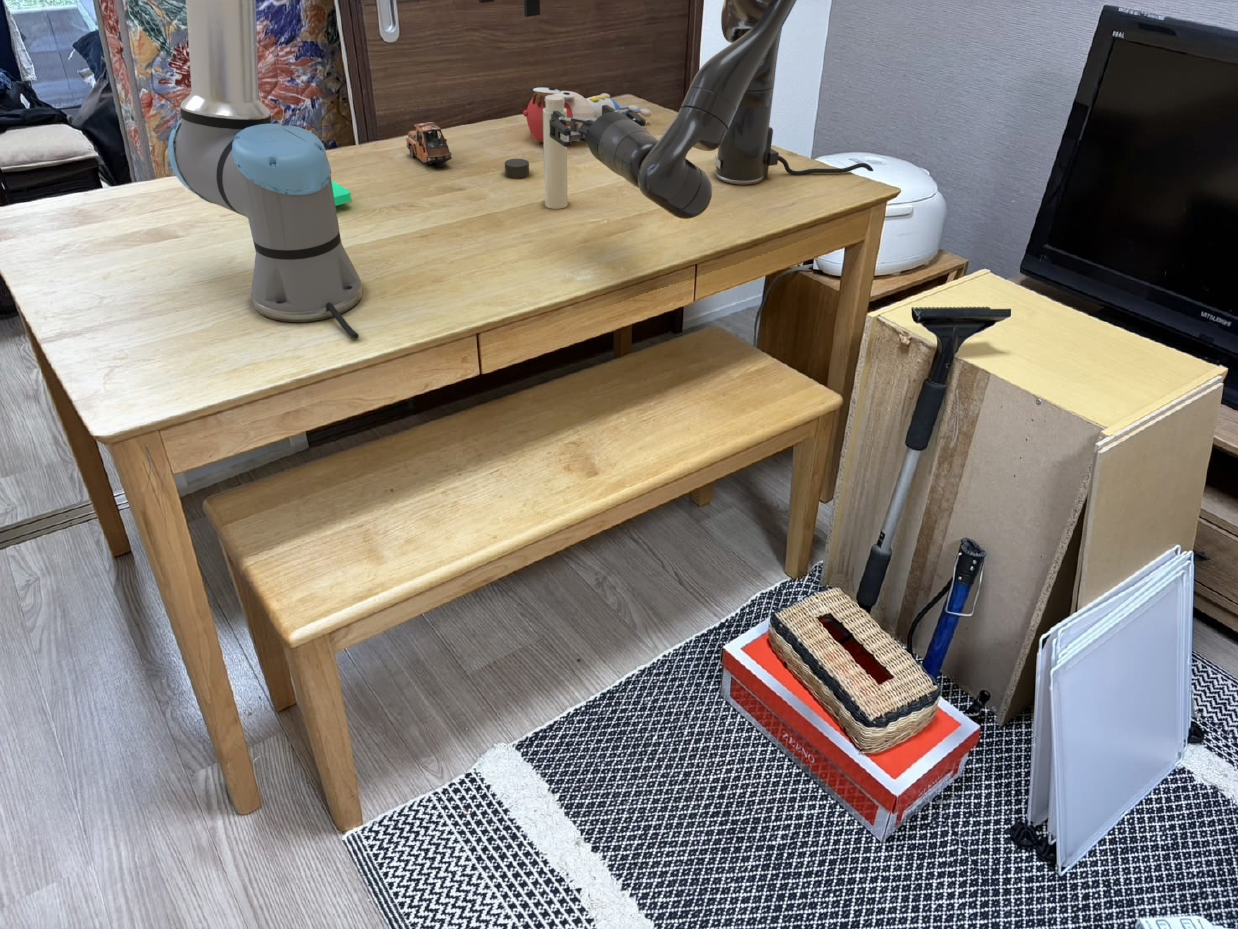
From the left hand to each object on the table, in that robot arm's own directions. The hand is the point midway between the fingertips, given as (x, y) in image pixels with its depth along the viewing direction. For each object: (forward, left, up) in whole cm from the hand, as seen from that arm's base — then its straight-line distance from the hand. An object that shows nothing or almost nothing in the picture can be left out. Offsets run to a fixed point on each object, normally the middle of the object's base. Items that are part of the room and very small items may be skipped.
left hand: (508, 8), depth 160 cm
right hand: (-27, +1, -10) cm, 29 cm away
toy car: (+15, +12, -29) cm, 35 cm away
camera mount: (+2, +37, -29) cm, 48 cm away
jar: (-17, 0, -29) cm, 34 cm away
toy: (+18, -25, -29) cm, 42 cm away
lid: (0, 0, -27) cm, 27 cm away
